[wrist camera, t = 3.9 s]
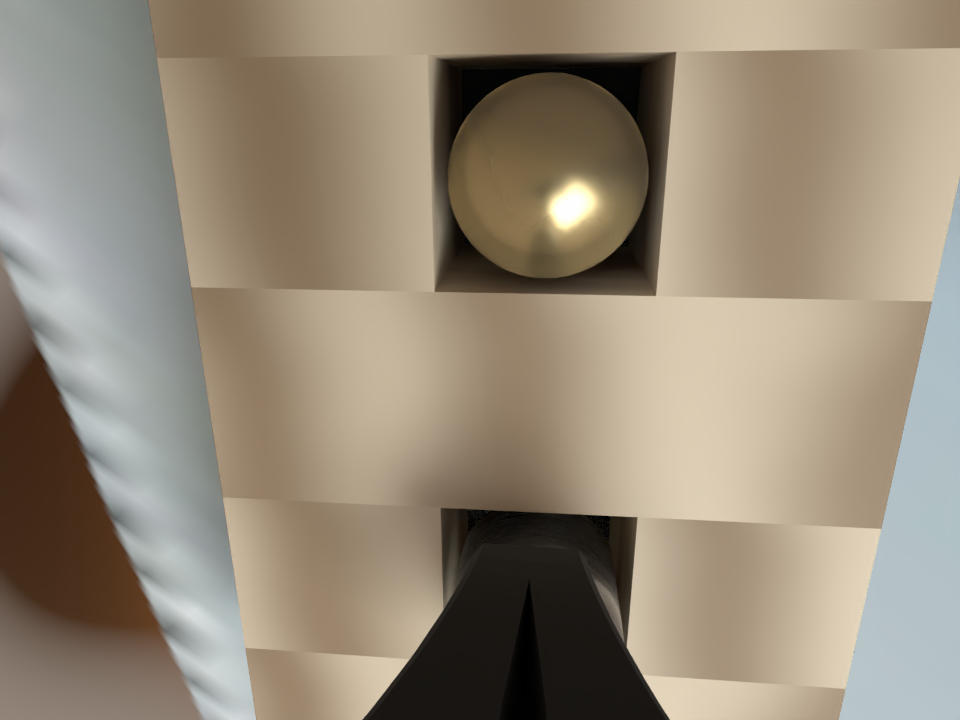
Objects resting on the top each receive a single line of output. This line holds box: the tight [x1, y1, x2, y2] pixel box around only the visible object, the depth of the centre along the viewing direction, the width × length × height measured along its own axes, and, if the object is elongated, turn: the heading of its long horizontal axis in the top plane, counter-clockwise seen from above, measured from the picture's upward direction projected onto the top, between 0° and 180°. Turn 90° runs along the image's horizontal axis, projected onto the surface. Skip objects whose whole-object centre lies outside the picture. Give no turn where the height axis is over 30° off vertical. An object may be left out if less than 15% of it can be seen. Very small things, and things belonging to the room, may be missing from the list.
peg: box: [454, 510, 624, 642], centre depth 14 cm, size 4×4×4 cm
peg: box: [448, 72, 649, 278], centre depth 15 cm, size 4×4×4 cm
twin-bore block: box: [148, 0, 960, 720], centre depth 16 cm, size 14×21×5 cm, turn 0°
